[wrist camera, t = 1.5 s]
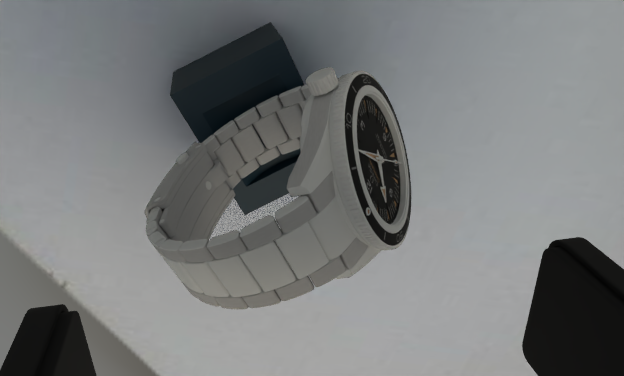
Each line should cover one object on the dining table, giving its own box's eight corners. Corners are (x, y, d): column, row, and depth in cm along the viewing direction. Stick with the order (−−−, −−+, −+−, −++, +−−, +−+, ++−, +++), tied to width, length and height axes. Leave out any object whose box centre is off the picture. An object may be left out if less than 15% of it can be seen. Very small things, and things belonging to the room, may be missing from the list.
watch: (364, 117, 23) (486, 258, 13) (204, 197, 23) (211, 394, 14) (314, -3, 20) (423, 66, 11) (132, 90, 20) (77, 240, 11)
